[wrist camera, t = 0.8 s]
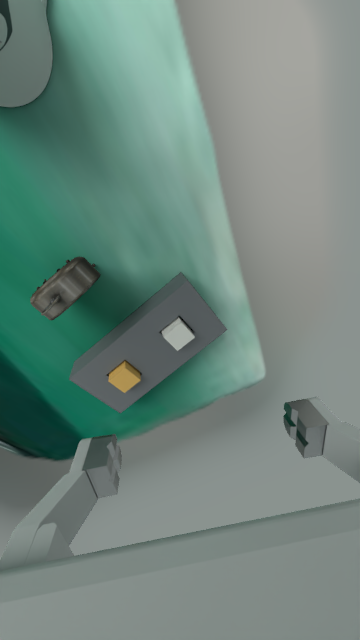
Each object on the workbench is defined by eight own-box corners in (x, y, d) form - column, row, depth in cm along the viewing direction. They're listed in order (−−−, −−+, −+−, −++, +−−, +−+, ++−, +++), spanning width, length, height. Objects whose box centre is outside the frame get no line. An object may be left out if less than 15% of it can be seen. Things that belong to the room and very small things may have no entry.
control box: (74, 361, 52) (69, 379, 46) (180, 272, 48) (187, 280, 43) (120, 394, 58) (120, 413, 53) (217, 317, 55) (227, 329, 49)
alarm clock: (63, 304, 46) (36, 348, 32) (39, 284, 43) (-3, 322, 29) (105, 267, 45) (96, 296, 30) (82, 244, 42) (61, 264, 28)
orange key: (109, 372, 49) (108, 381, 46) (125, 359, 48) (125, 367, 46) (124, 383, 51) (124, 393, 48) (139, 371, 50) (140, 380, 48)
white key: (161, 329, 47) (163, 337, 44) (178, 315, 47) (181, 322, 44) (174, 343, 49) (177, 351, 46) (191, 330, 49) (195, 337, 46)
